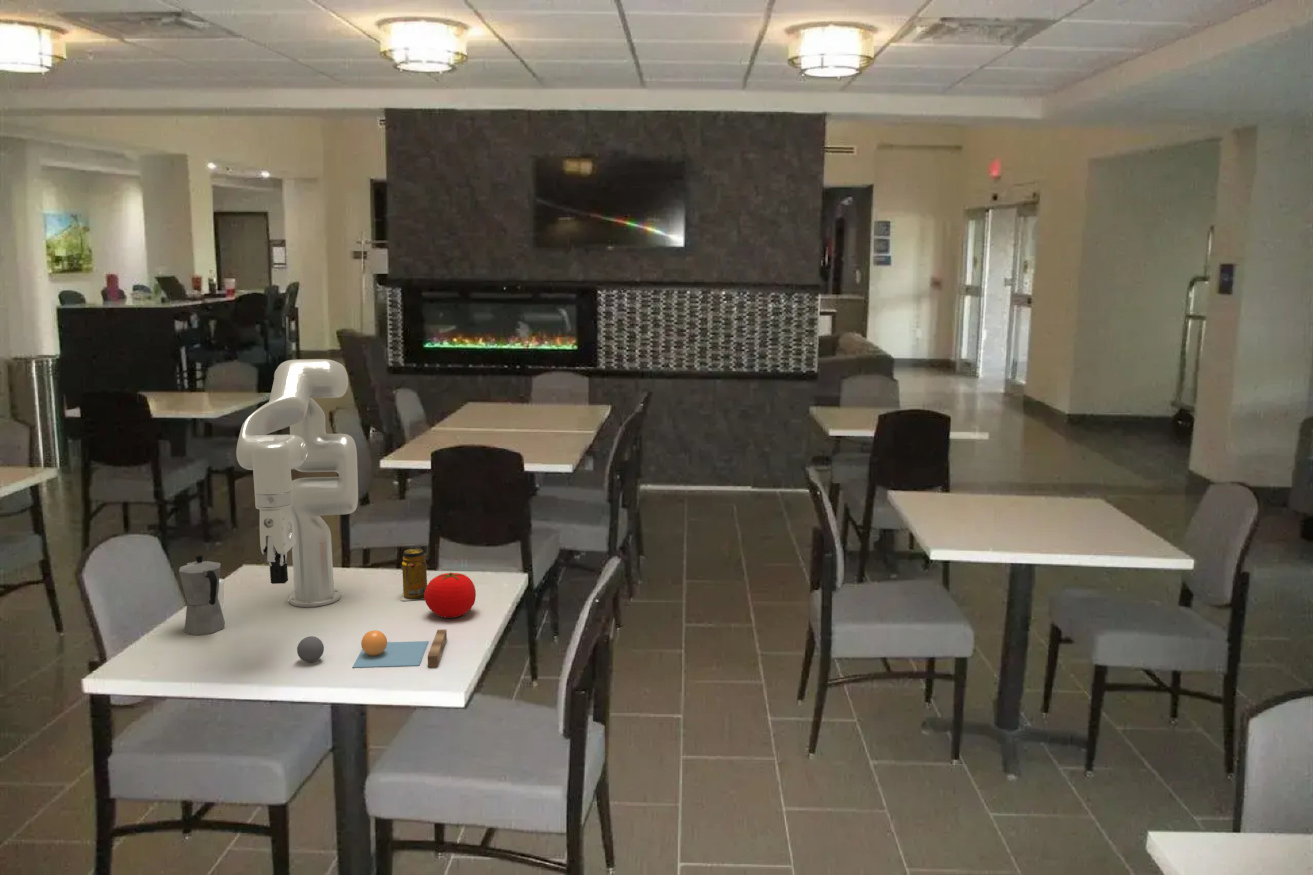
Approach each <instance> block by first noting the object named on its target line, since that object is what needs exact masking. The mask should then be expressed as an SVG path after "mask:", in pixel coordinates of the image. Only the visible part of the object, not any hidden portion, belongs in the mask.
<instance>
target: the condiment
mask: <svg viewBox="0 0 1313 875" xmlns="http://www.w3.org/2000/svg"><path fill="white" fill-rule="evenodd" d="M402 553H403V557H402V560H403V561H402V562H401V568H402V587H403V589H402V590H403V592H402V596H401V599H400V600H401V602H402V601H409V602H410V601H420V600H425V599H424V593H425V590H426V587H427V585H428V577H427V576H428V573H427V562H426V559H425V557H426V556H425V551H424V550H423V549H421V548H420V549H419V548H410V549H406V550H404V552H402Z"/></svg>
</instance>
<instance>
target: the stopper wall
mask: <svg viewBox="0 0 1313 875" xmlns="http://www.w3.org/2000/svg"><path fill="white" fill-rule="evenodd" d="M447 631H448V630H447V629H437V630H436V632H435V635H434V639H433V641H432V644H431V646H430V648H429V651H428V654H427V668H438V667H439V663H440V661H441V658H442V655H443V652H444V649H445V646H446V643H447V642H448V638H447V637H448V634H447V633H448V632H447Z"/></svg>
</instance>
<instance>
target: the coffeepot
mask: <svg viewBox="0 0 1313 875" xmlns="http://www.w3.org/2000/svg"><path fill="white" fill-rule="evenodd" d="M203 556H204V554H196V555H195V560H196V561H192V562H187V563H186V565H182V566H180V567H179V570H178V572H179V577H180V581H181V585H182V588H183V592H184V596H185V598H186V602H187V603H186V609H185V619H184V620H185V622H184V630H183V631H184V633H185V634H187V635H190V636H191V635H192V636H204V635H209V634H215V633H217V632H220V631H222V630H223V629H225V624H226V623H225V622H226V621H225V618H224V614H223V609H221V606H220V602H219V599H218V591H219V578H220V577H221V576H220V574H221V566H222V565H221V563H220V562H217V561H210V560H209V561H208V560H207V561H203Z"/></svg>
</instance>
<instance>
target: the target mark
mask: <svg viewBox="0 0 1313 875" xmlns="http://www.w3.org/2000/svg"><path fill="white" fill-rule="evenodd" d="M428 644H429V641H428V640H420V641H418V640H417V641H416V640H415V641H414V640H413V641H387V647H386V649H385V650H384V652H383V653H381V654H380V655H377V656H370V655H368V654H366V653H365V652H364V651H363V649H362V648H361V650H360V652H359V654H358V656H357V658H356V660H355V661H354V663H353V665H352V669H357V668H358V669H363V668H367V669H368V668H392V667H393V668H394V667H395V668H396V667H399V668H400V667H420V665H421V663H422V660H423V656H424V654H425V651H426V650H427V646H428Z"/></svg>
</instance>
